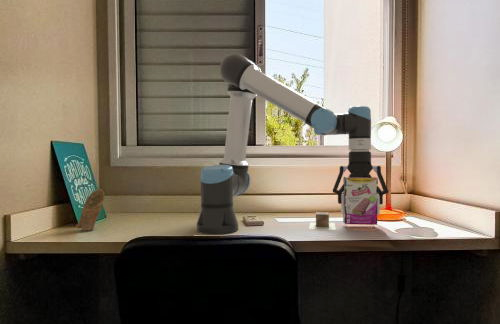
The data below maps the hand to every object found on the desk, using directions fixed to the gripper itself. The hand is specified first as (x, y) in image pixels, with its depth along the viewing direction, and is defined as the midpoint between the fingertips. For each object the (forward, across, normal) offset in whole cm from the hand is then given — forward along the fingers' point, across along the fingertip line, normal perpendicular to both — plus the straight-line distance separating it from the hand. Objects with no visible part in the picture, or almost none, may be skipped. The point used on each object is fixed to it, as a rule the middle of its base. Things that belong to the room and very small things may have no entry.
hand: (359, 213), depth 129 cm
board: (+6, -6, 0) cm, 9 cm away
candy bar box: (+4, 0, 0) cm, 4 cm away
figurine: (+6, -96, -12) cm, 97 cm away
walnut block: (+5, -13, 0) cm, 14 cm away
